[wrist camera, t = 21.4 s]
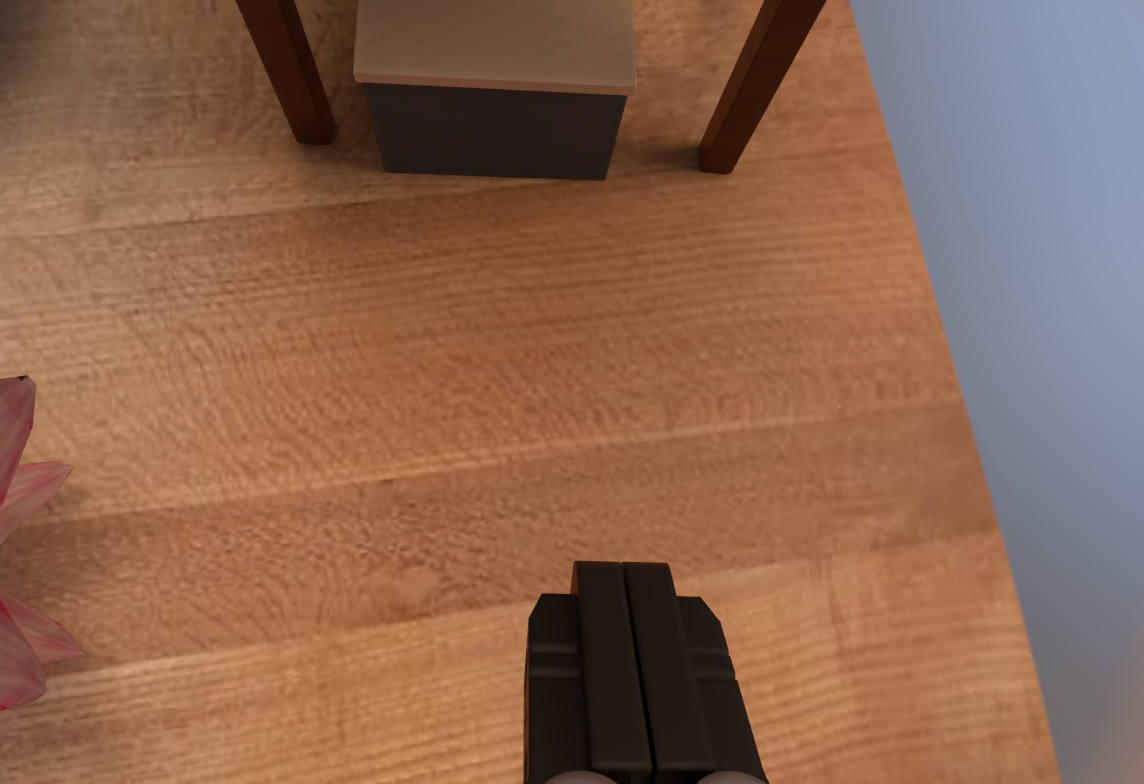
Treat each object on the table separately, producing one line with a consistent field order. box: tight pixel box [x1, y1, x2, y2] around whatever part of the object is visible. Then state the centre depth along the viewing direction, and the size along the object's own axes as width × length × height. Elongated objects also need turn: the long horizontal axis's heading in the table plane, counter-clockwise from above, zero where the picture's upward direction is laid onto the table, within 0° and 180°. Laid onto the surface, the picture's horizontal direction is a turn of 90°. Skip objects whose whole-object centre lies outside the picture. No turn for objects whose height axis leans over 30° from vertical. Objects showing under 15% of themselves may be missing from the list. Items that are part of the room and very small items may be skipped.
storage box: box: [353, 0, 637, 180], centre depth 33 cm, size 10×10×7 cm
